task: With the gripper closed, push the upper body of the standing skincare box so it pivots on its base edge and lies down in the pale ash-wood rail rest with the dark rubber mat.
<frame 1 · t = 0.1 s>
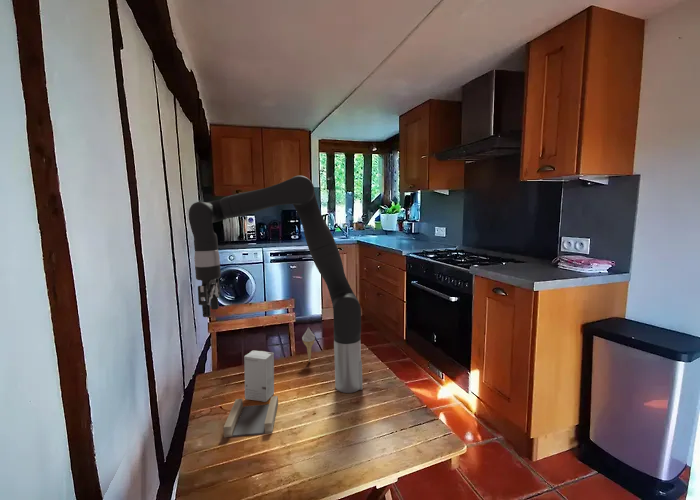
hand: (211, 312, 109), 29 cm above the table, tool pointing down, fingers open, 8 cm apart
rest: (253, 419, 98), on the table
skincare box: (260, 396, 111), on the table
ice cream cone: (309, 362, 136), on the table
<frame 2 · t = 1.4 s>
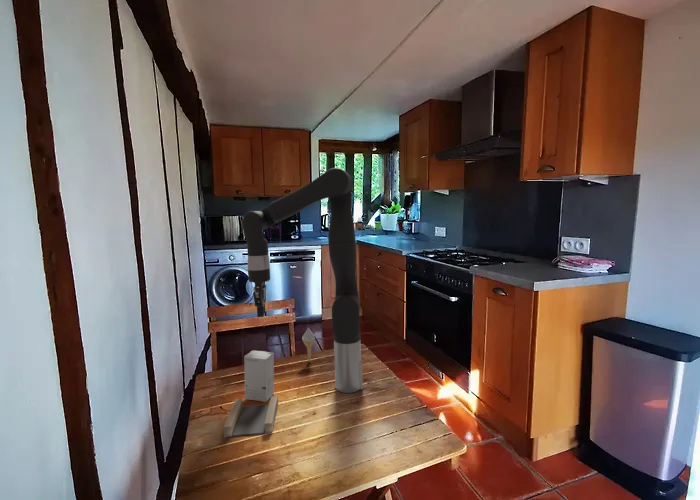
hand: (261, 315, 118), 25 cm above the table, tool pointing down, fingers closed
nothing on the table moved.
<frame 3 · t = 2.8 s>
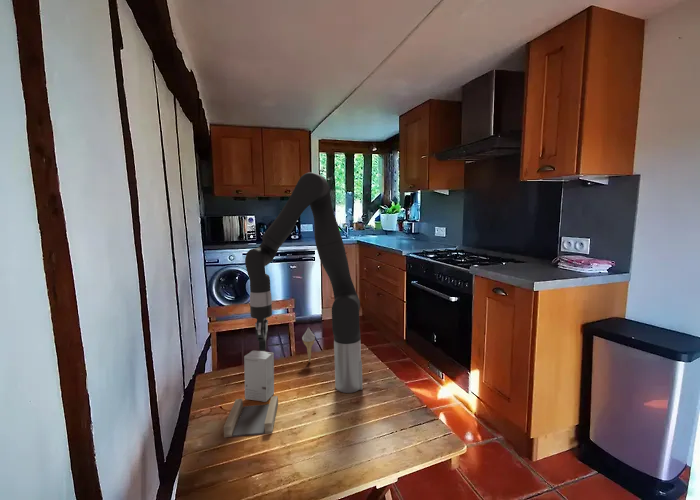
hand: (262, 349, 120), 12 cm above the table, tool pointing down, fingers closed
nothing on the table moved.
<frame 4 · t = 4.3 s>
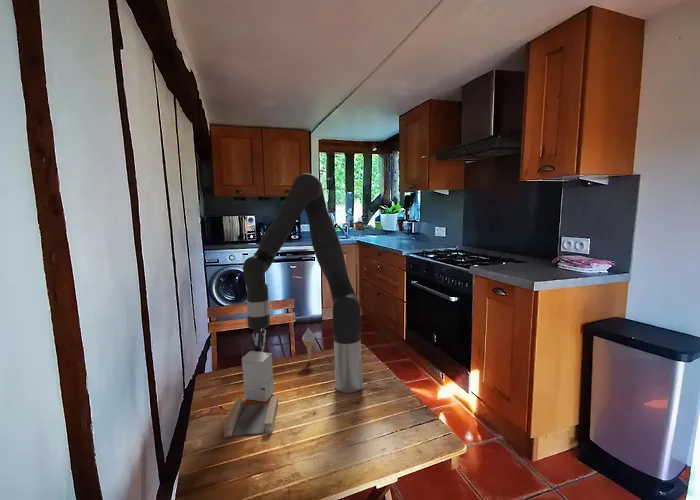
hand: (260, 360, 116), 10 cm above the table, tool pointing down, fingers closed
skincare box: (260, 396, 111), on the table, touching hand
everything else where it was.
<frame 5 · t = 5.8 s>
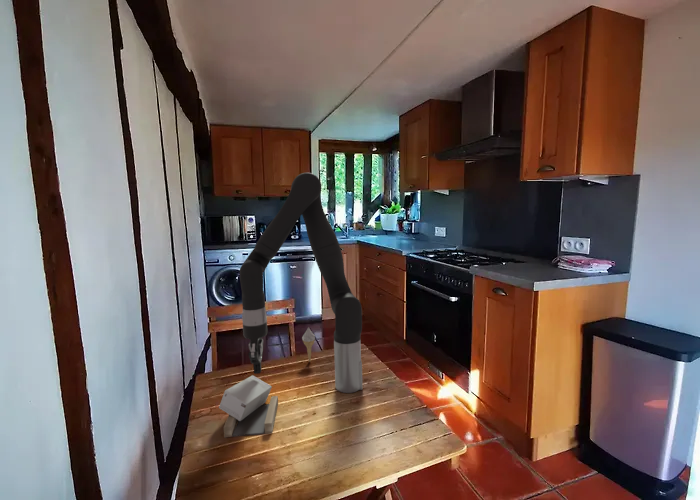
hand: (257, 372, 108), 10 cm above the table, tool pointing down, fingers closed
skincare box: (260, 387, 109), point 4 cm above the table, touching rest
everything else where it was.
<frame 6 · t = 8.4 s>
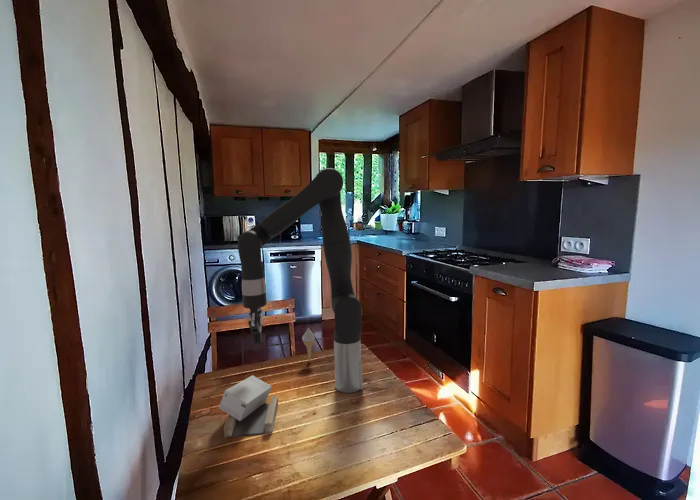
hand: (257, 342, 110), 19 cm above the table, tool pointing down, fingers closed
nothing on the table moved.
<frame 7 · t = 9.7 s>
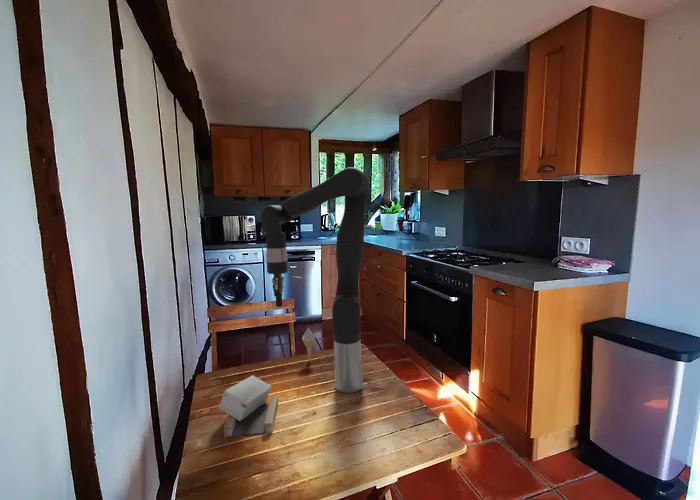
hand: (279, 306, 123), 27 cm above the table, tool pointing down, fingers closed
nothing on the table moved.
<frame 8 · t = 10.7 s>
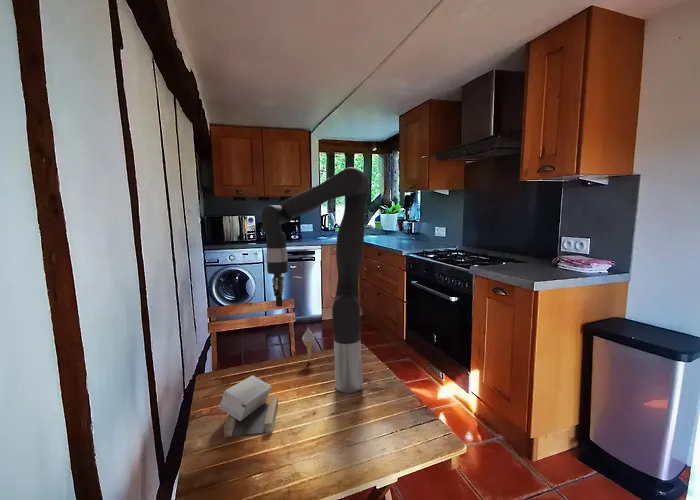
hand: (279, 305, 123), 27 cm above the table, tool pointing down, fingers closed
nothing on the table moved.
at the end: skincare box tilted 81°; skincare box inside the target area (4.5 cm from its centre), point 4.0 cm above the table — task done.
